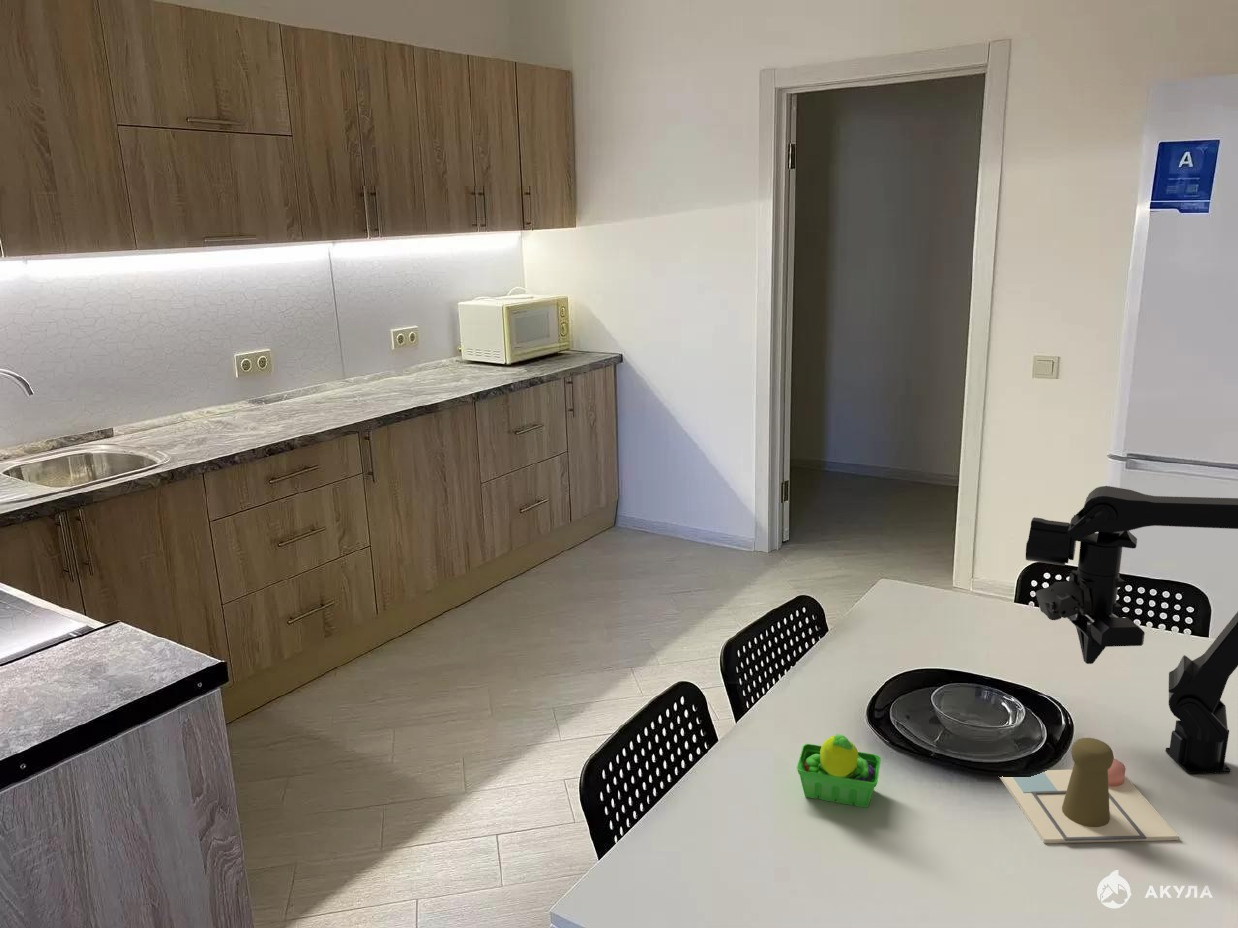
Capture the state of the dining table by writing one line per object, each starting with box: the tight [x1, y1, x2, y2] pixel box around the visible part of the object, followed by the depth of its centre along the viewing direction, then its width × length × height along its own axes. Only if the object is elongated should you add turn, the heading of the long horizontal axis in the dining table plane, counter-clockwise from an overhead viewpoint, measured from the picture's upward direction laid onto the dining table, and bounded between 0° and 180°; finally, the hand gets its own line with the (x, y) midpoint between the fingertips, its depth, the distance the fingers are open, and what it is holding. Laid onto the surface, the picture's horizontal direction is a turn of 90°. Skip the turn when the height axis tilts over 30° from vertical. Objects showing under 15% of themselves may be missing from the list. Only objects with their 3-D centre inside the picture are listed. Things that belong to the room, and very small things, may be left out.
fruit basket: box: [796, 733, 882, 809], centre depth 138 cm, size 11×9×11 cm
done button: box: [1108, 758, 1127, 786], centre depth 141 cm, size 5×5×2 cm
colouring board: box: [999, 769, 1180, 844], centre depth 135 cm, size 18×16×1 cm
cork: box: [1062, 737, 1115, 827], centre depth 131 cm, size 6×6×11 cm
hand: (1088, 662), depth 149 cm, fingers closed
